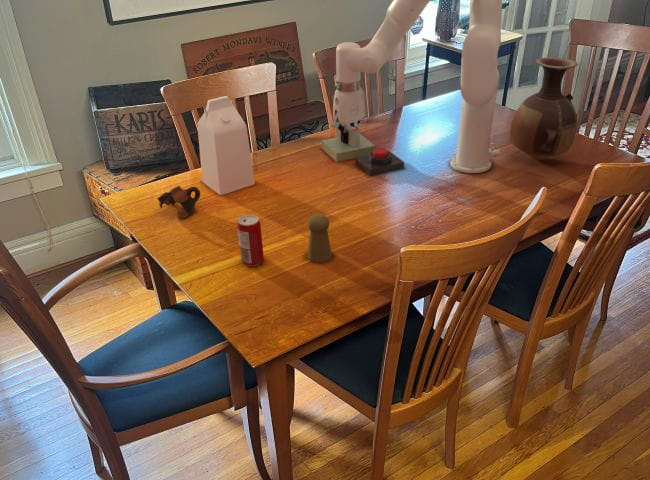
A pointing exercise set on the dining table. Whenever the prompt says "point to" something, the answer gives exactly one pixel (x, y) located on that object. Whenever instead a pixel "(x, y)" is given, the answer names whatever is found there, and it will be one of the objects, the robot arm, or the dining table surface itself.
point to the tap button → (380, 152)
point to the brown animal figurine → (181, 199)
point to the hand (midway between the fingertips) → (348, 141)
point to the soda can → (250, 240)
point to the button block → (379, 163)
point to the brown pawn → (319, 239)
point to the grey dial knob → (351, 136)
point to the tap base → (346, 149)
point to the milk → (224, 148)
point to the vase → (546, 115)
